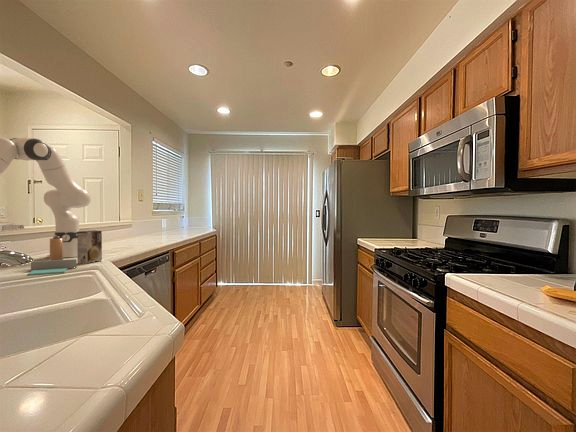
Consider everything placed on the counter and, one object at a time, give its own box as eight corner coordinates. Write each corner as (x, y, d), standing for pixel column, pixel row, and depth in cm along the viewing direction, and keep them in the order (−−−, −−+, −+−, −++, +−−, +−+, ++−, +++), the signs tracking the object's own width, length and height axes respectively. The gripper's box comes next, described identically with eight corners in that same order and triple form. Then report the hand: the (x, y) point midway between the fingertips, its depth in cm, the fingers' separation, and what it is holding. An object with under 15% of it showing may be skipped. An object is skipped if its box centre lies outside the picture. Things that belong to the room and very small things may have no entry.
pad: (33, 271, 130) (33, 270, 130) (67, 269, 136) (67, 267, 136) (27, 275, 122) (27, 273, 122) (64, 272, 128) (64, 271, 128)
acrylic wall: (31, 270, 131) (31, 261, 131) (76, 267, 139) (76, 259, 139) (31, 271, 130) (31, 261, 130) (76, 268, 138) (76, 259, 138)
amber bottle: (50, 265, 145) (50, 236, 145) (63, 264, 148) (63, 235, 148) (48, 266, 141) (48, 236, 141) (62, 266, 143) (62, 236, 143)
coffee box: (91, 260, 160) (92, 230, 160) (102, 261, 159) (102, 230, 159) (76, 263, 151) (76, 231, 151) (87, 264, 150) (87, 231, 150)
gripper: (-31, 220, 122) (14, 220, 129) (-12, 220, 140) (27, 220, 147) (-32, 236, 122) (13, 235, 129) (-12, 233, 140) (26, 233, 147)
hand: (21, 227), depth 138 cm, fingers open, 8 cm apart
